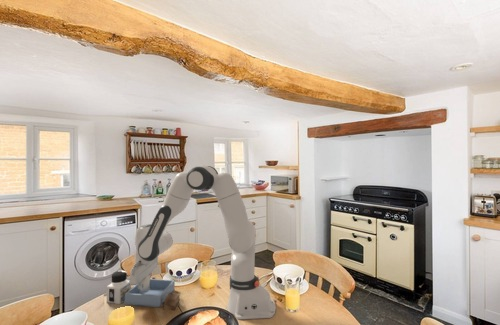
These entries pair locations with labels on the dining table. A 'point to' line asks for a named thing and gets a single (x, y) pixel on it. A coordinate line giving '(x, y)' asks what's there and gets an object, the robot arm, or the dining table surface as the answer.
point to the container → (118, 287)
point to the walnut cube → (171, 301)
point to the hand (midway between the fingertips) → (144, 285)
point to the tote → (150, 293)
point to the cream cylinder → (145, 285)
